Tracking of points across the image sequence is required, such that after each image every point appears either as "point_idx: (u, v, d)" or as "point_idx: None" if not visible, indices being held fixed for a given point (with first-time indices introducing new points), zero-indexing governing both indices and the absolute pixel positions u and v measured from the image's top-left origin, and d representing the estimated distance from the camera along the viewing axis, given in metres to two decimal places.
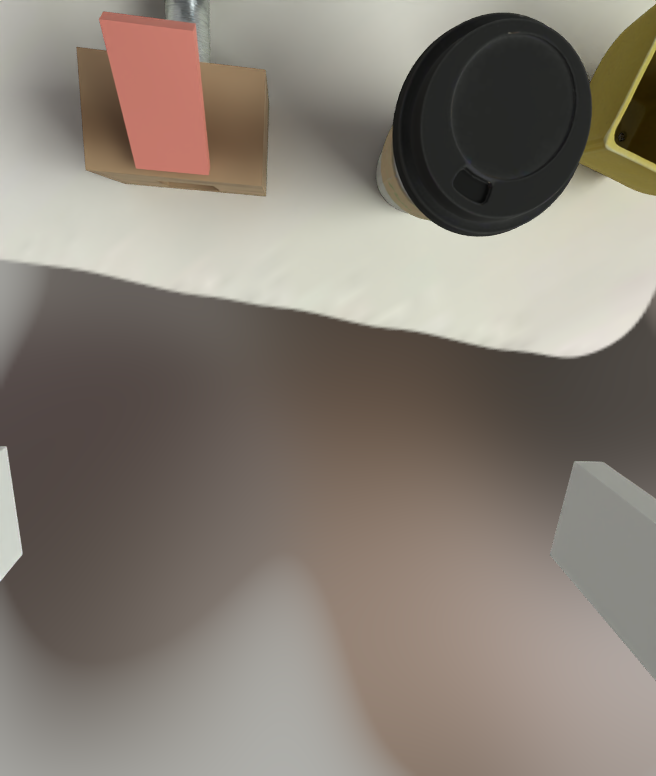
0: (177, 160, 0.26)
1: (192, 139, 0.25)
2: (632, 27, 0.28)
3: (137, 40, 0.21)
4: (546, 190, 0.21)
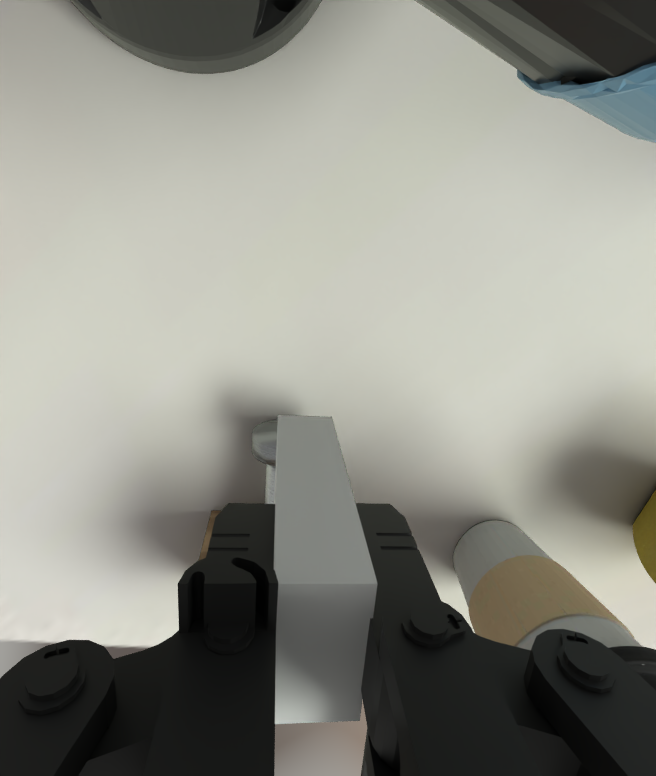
0: None
1: None
2: None
3: None
4: None
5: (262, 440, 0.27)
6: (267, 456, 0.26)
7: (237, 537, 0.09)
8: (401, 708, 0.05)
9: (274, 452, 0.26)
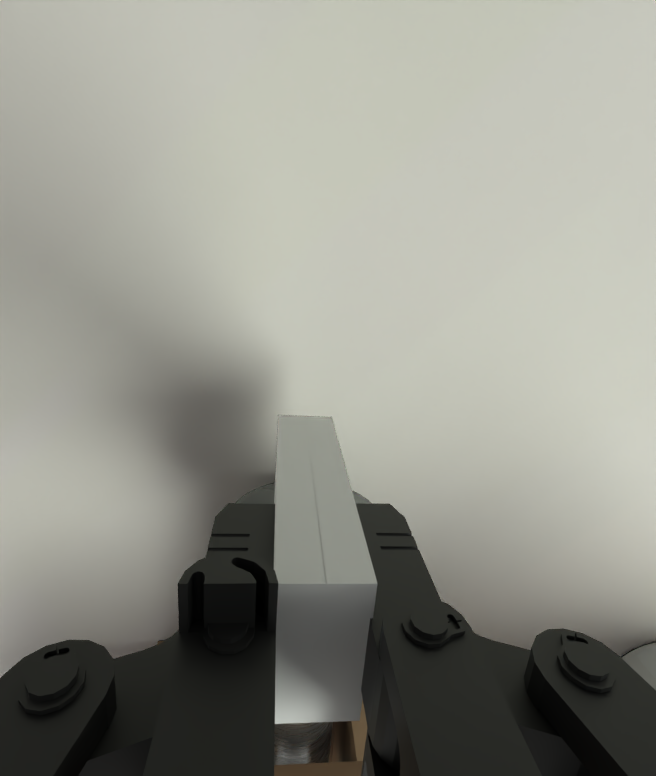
0: None
1: None
2: None
3: None
4: None
5: None
6: None
7: (237, 537, 0.09)
8: (401, 708, 0.05)
9: None
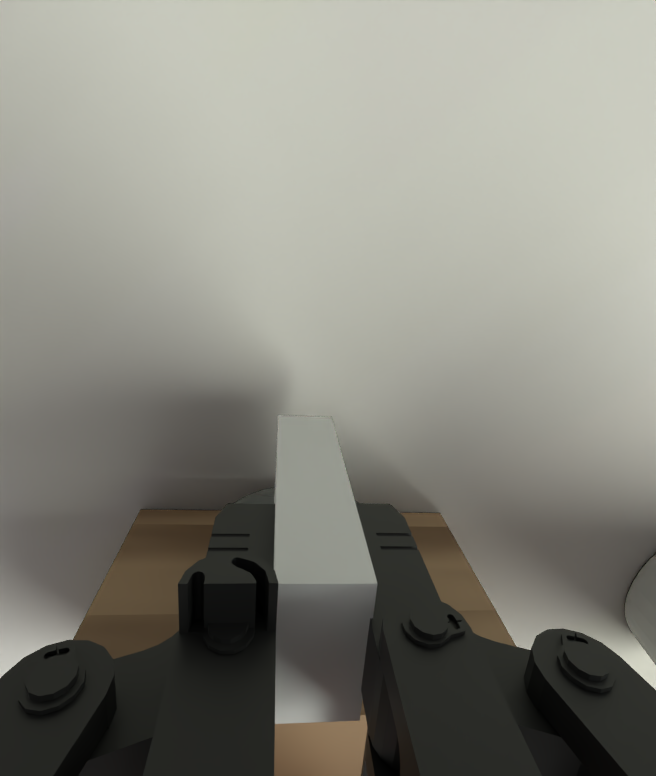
0: None
1: None
2: None
3: None
4: None
5: None
6: None
7: (237, 537, 0.09)
8: (401, 708, 0.05)
9: None
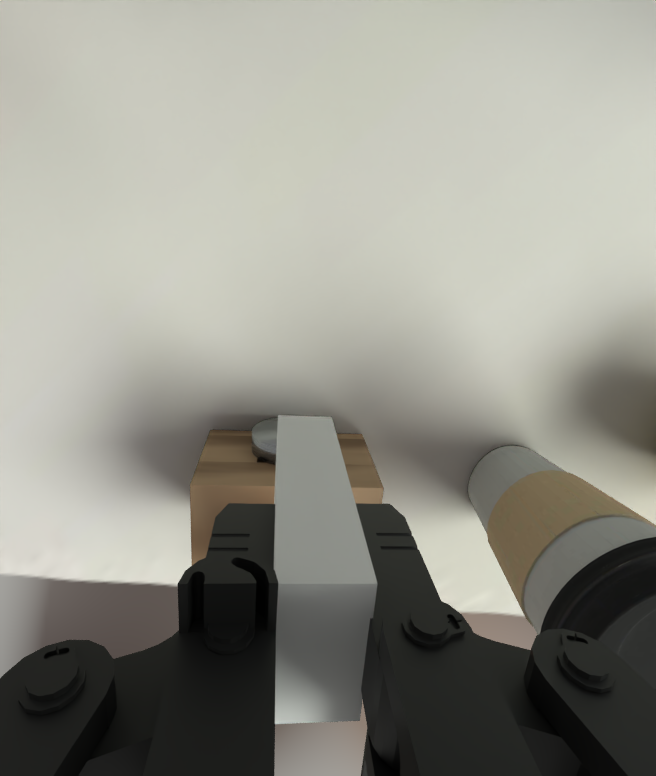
0: None
1: None
2: None
3: None
4: None
5: (262, 438, 0.26)
6: (267, 454, 0.26)
7: (237, 537, 0.09)
8: (401, 708, 0.05)
9: (274, 450, 0.26)
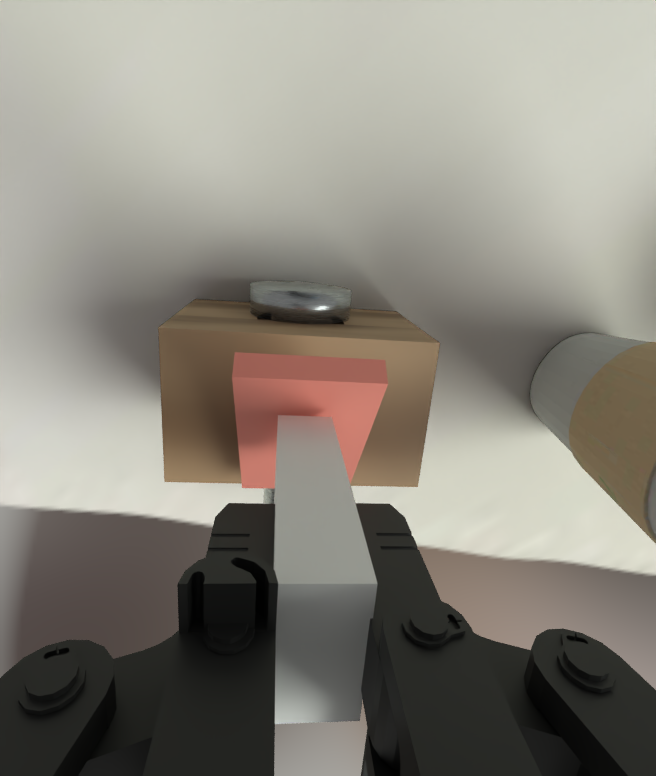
0: None
1: None
2: None
3: (288, 394, 0.12)
4: None
5: (264, 287, 0.19)
6: (271, 308, 0.19)
7: (237, 537, 0.09)
8: (401, 708, 0.05)
9: (281, 300, 0.18)
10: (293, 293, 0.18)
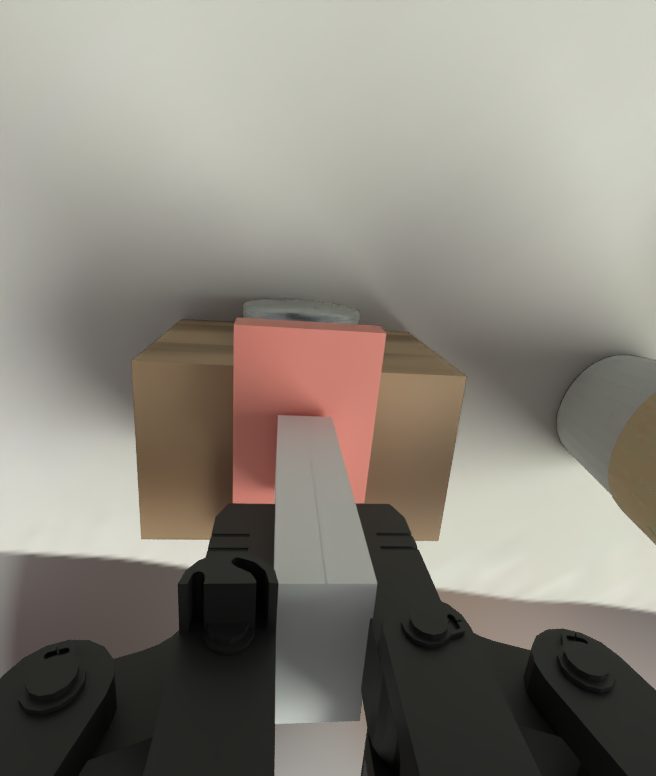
0: None
1: None
2: None
3: (289, 351, 0.12)
4: None
5: (260, 309, 0.16)
6: None
7: (237, 537, 0.09)
8: (401, 708, 0.05)
9: None
10: (293, 316, 0.15)
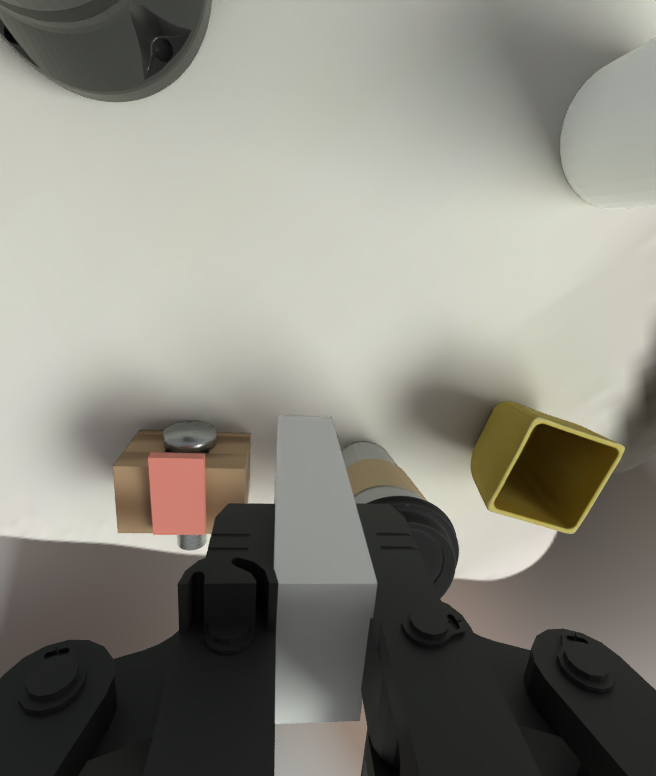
0: (183, 527, 0.37)
1: (195, 514, 0.36)
2: (511, 411, 0.39)
3: (168, 465, 0.35)
4: None
5: (168, 435, 0.39)
6: (171, 447, 0.38)
7: (237, 537, 0.09)
8: (401, 708, 0.05)
9: (175, 444, 0.38)
10: (180, 441, 0.38)
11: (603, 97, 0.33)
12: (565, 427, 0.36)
